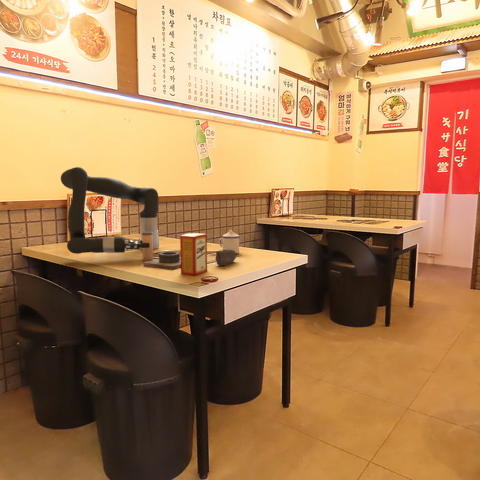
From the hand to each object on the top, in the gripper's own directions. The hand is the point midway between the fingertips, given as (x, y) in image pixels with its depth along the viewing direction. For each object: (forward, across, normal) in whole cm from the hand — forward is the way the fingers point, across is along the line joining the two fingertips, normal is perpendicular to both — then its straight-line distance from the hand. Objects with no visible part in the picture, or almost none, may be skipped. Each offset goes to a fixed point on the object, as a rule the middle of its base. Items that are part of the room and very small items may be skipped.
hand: (149, 243), depth 188 cm
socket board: (+9, -13, +8) cm, 18 cm away
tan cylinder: (-1, 0, +8) cm, 8 cm away
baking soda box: (+18, -32, +8) cm, 37 cm away
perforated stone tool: (+34, -18, +8) cm, 39 cm away
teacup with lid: (+40, +12, +8) cm, 42 cm away
